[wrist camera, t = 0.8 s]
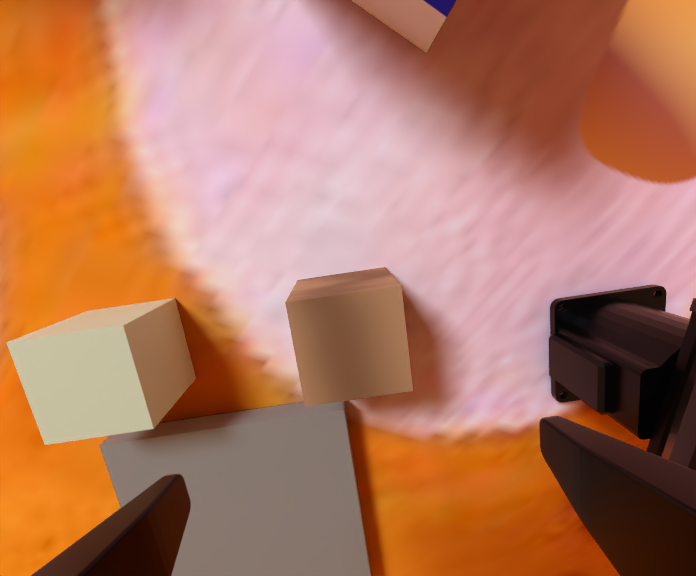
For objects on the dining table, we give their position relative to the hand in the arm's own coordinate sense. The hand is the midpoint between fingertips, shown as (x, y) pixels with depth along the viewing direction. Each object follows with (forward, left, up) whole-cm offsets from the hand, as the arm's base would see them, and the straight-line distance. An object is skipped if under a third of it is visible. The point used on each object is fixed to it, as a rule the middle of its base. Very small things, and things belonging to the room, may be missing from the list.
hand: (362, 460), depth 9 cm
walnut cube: (0, 0, -12) cm, 12 cm away
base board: (+8, +12, -12) cm, 18 cm away
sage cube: (+12, 0, -12) cm, 17 cm away
